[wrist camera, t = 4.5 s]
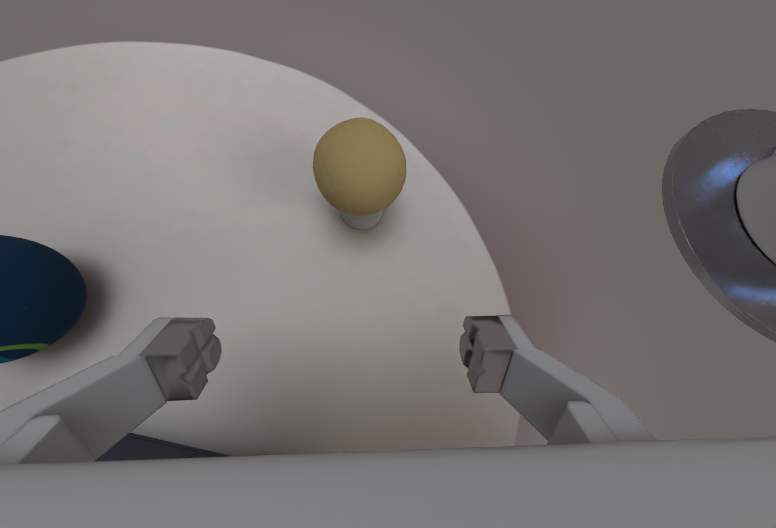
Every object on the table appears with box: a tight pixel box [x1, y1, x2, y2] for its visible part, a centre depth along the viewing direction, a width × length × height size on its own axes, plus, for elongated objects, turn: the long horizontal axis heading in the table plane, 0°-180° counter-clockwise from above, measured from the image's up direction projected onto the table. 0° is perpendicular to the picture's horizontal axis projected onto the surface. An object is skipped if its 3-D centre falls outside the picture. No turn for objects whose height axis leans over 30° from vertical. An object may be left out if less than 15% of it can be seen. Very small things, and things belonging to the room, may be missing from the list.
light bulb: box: [313, 118, 406, 229], centre depth 23 cm, size 6×6×10 cm
